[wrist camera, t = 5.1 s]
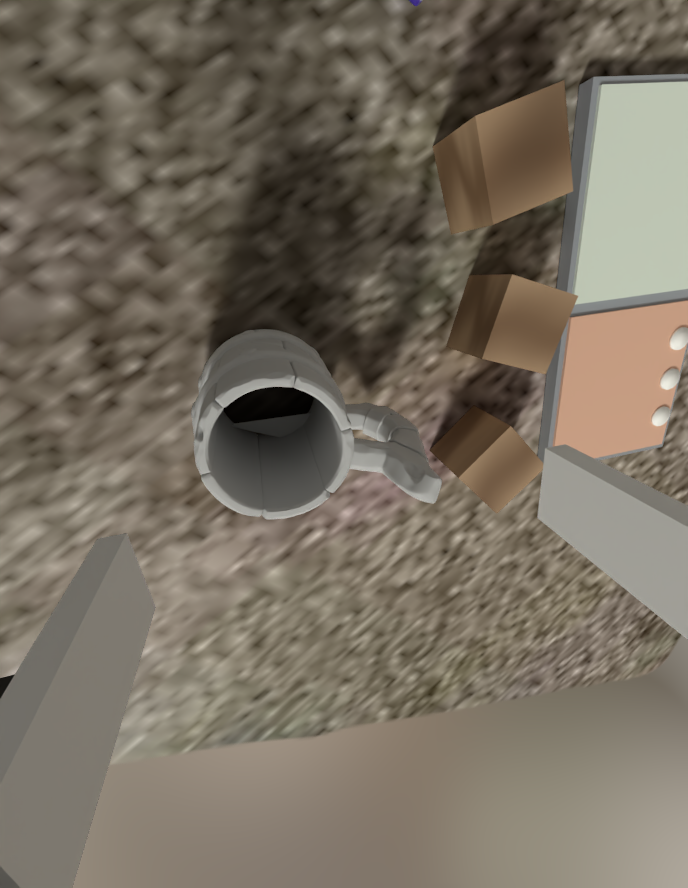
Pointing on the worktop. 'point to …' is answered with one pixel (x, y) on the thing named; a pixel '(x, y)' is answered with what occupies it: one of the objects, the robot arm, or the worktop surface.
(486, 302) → the walnut block
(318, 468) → the mug
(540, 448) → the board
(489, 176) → the walnut block
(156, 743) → the worktop surface
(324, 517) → the worktop surface
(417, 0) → the supplement box
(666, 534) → the robot arm
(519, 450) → the walnut block
